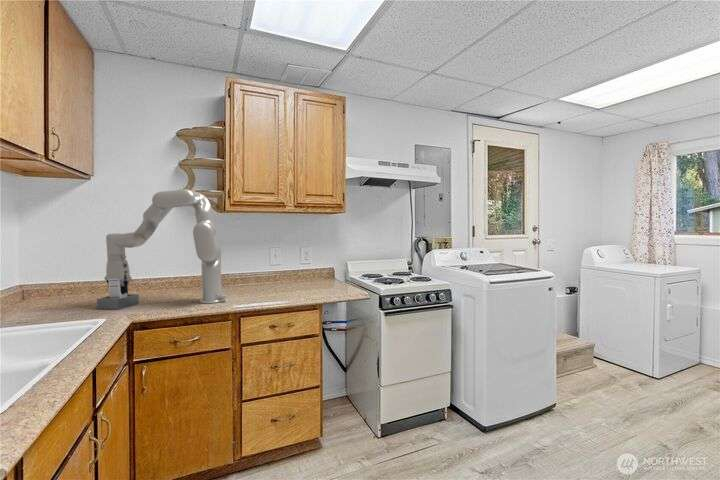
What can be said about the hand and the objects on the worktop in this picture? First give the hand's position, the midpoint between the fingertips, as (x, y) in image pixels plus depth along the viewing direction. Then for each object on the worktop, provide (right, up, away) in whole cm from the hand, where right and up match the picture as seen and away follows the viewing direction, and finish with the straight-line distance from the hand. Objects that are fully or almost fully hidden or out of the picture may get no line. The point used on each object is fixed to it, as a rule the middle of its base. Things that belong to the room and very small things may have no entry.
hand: (118, 292), depth 179 cm
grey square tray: (0, -7, 0) cm, 7 cm away
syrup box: (0, -7, 0) cm, 7 cm away
